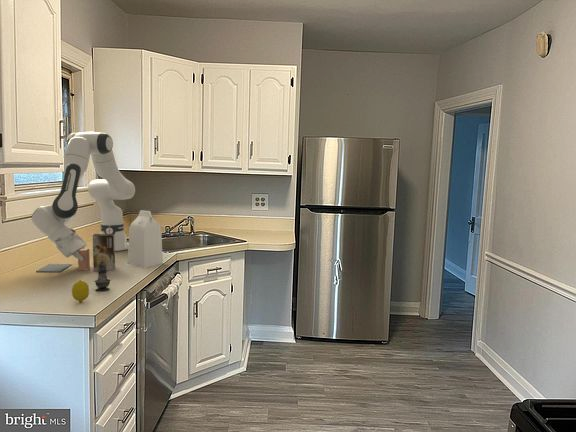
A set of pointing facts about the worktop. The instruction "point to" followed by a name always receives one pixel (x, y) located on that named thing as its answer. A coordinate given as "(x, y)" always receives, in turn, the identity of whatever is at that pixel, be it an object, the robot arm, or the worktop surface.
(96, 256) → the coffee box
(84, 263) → the stub
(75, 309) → the worktop surface
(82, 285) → the lemon
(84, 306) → the worktop surface
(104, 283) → the dark ornate vase
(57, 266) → the mat
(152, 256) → the milk
